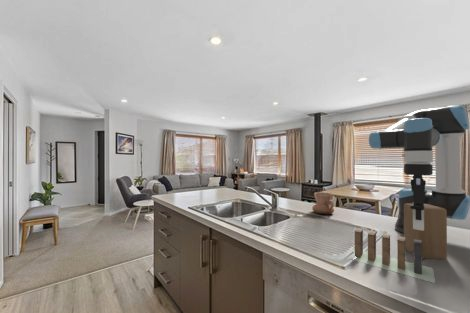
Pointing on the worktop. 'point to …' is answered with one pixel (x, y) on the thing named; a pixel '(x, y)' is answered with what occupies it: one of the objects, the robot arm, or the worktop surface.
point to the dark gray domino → (418, 256)
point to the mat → (393, 266)
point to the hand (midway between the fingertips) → (418, 224)
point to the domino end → (358, 242)
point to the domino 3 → (401, 252)
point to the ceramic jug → (323, 203)
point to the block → (427, 231)
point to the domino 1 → (371, 246)
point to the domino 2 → (386, 249)
